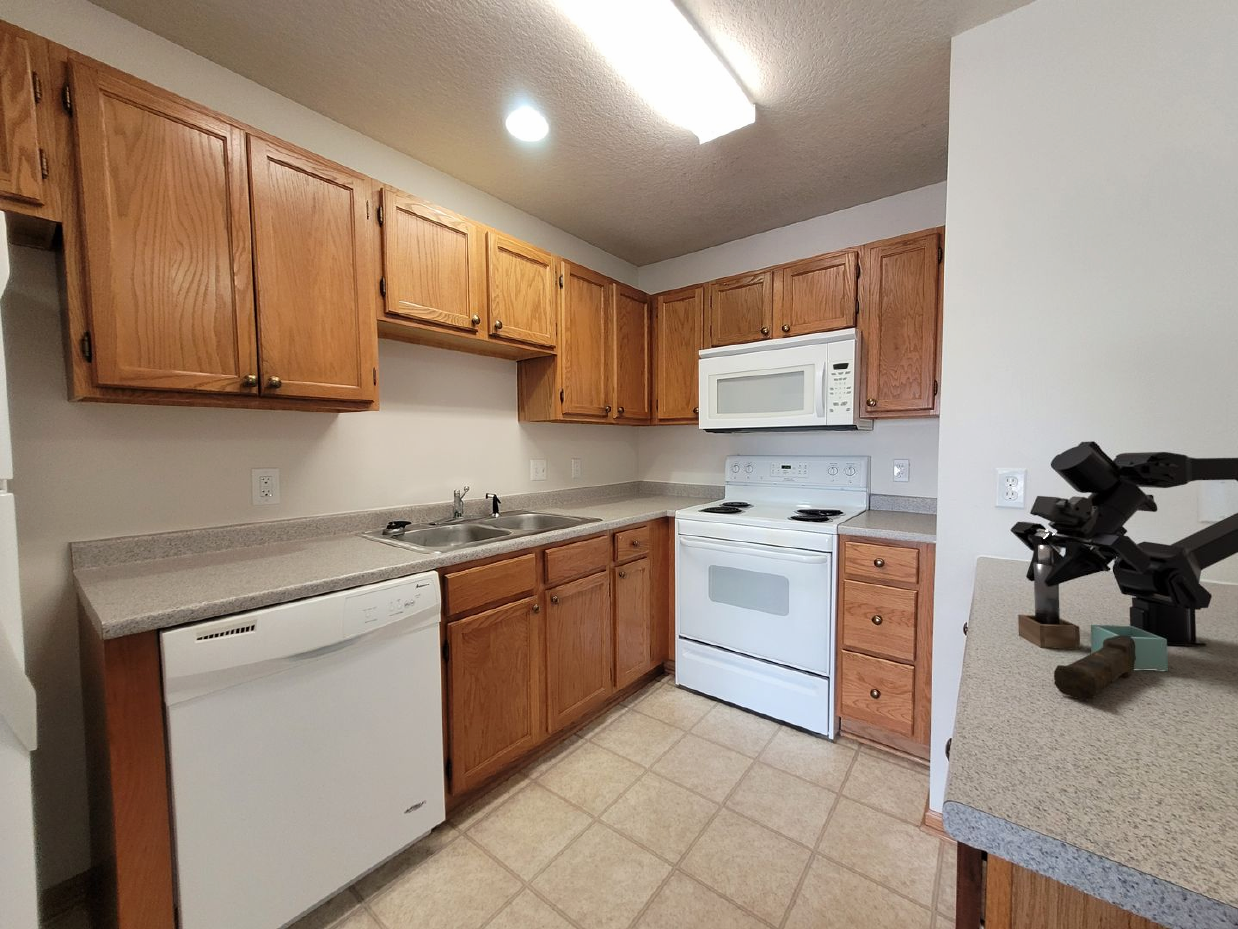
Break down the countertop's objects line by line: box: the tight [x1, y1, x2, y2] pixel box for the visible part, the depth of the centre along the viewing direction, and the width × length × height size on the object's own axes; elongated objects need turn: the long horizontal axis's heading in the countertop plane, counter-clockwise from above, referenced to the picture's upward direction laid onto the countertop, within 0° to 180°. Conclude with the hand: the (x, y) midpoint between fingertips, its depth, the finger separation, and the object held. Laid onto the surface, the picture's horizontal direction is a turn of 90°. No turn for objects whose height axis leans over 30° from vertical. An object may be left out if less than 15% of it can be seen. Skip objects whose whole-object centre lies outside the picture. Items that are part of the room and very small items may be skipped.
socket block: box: [1017, 614, 1081, 650], centre depth 77 cm, size 5×5×4 cm
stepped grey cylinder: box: [1033, 545, 1061, 625], centre depth 77 cm, size 3×3×13 cm
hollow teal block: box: [1090, 624, 1169, 671], centre depth 69 cm, size 5×5×4 cm
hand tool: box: [1053, 635, 1136, 701], centre depth 63 cm, size 19×4×5 cm, turn 115°
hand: (1037, 581), depth 77 cm, fingers closed on stepped grey cylinder, 3 cm apart
